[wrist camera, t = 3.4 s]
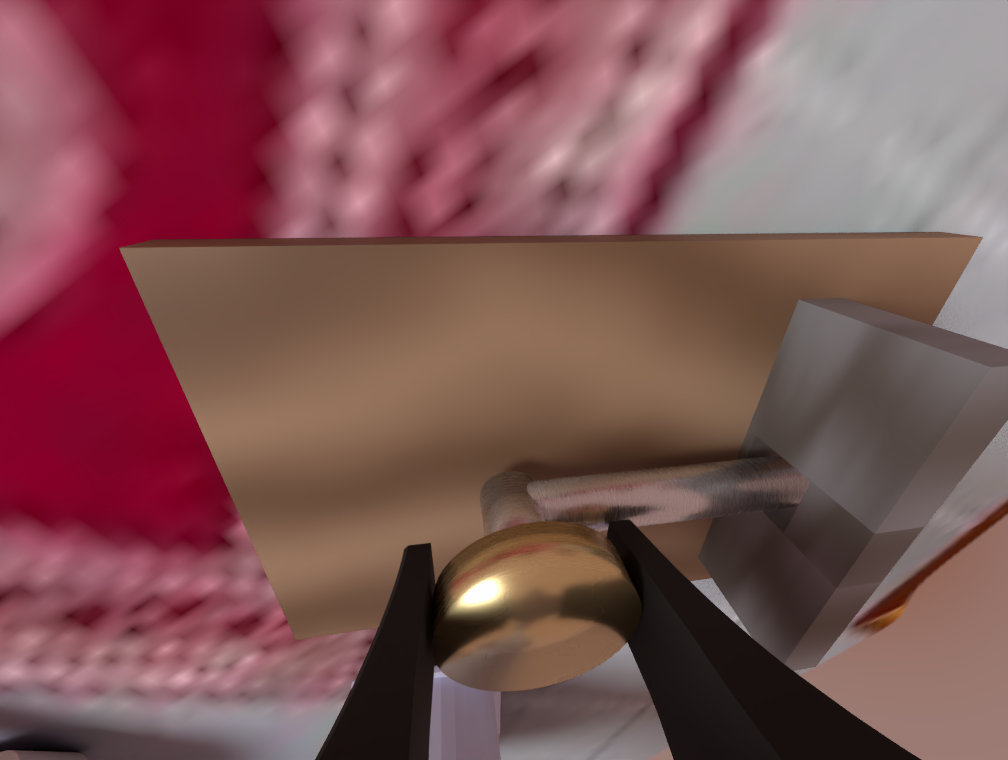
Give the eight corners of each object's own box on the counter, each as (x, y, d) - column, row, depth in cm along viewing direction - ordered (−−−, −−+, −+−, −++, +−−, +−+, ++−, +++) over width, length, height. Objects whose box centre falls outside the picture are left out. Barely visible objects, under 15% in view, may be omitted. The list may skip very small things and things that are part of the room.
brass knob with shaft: (758, 509, 16) (870, 627, 12) (439, 549, 14) (440, 705, 10) (805, 407, 13) (966, 511, 9) (427, 438, 12) (423, 585, 7)
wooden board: (774, 546, 21) (888, 672, 15) (304, 611, 17) (247, 801, 12) (939, 231, 13) (1274, 272, 8) (153, 239, 10) (-180, 319, 4)
